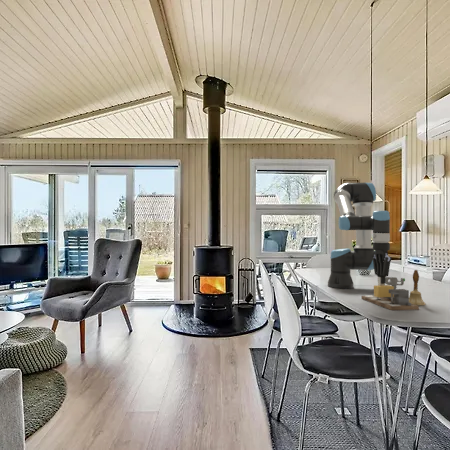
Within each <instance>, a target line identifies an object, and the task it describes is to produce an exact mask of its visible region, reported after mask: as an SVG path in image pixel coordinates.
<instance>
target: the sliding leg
mask: <svg viewBox="0 0 450 450" xmlns="http://www.w3.org/2000/svg"><path fill="white" fill-rule="evenodd" d="M389 289H394V286H392V285H387V284H385V285H378V284H377V285H373V296H376V297H377V298H379V297H391V293H389ZM393 297H394V294H393Z"/></svg>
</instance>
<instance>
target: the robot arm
mask: <svg viewBox="0 0 450 450" xmlns="http://www.w3.org/2000/svg"><path fill="white" fill-rule="evenodd" d="M333 200H334V203H336V205H337V208H338V210H339V217H338V221H337V222H338V223H337V224H338V229H339V230H341V231H355V246H353V250H351V248H349V247H347V248H338V249H332V250H331V251H330V273H329V274H330V275H329V277H328V281H327V286H328V287H330V288H336V289H352V288H354V282H353V277H352V275H351V271H352V270H353V271H354V270H355V271H356V270H357V271H374V275H376V277H377V285H386V284H385V277H389V274H390V267H391V266H390V265H391V261H392V257H391V256H389V253H388V252H389V251H390V249H391V247H390V246H391V245H390V244H391V243H390V241H391V237H390V235H391V232H390V231H391V230H390V222H391V221H390V220H391V217H390V211H388V210H374V211H373V212H372V214H371V207H372V206H373V205H374V202H375V201H376V200H377V191H376V187H375V185H374V184H373V183H372V182H366V181H365V182H346V183H343V184H341V185H339V186H338V187H337V188H336V189H335V190H334V192H333ZM353 207H355V210H354V208H353ZM372 241H373V242H372Z"/></svg>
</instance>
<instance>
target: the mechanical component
mask: <svg viewBox="0 0 450 450" xmlns="http://www.w3.org/2000/svg"><path fill="white" fill-rule="evenodd" d="M405 281H406V279H405V277H404V278H403V277H400V280H399V279H398V277H392V276H386V277H385V285H390V286H394V289H398V287H397V286H403V285H404V282H405Z"/></svg>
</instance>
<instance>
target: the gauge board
mask: <svg viewBox="0 0 450 450" xmlns="http://www.w3.org/2000/svg"><path fill="white" fill-rule="evenodd" d="M409 291H410V290H408V289H405V288H399V289H398V288H396V289H389V293H391V297H379V298H377V297H376V296H374V295H372V294H371V295H369V294H368V295H361V300H363V301H366V302H369V303H372V304H374V305H376V304H377V305H376V306H380V307H382V308H384V309H387V310H390V311H410V310H413V311H414V310H415V311H416V310H420V308H419V307H420V305H414V304H411V303H410V302H409V296H410V292H409ZM393 294H394V297H393Z"/></svg>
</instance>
